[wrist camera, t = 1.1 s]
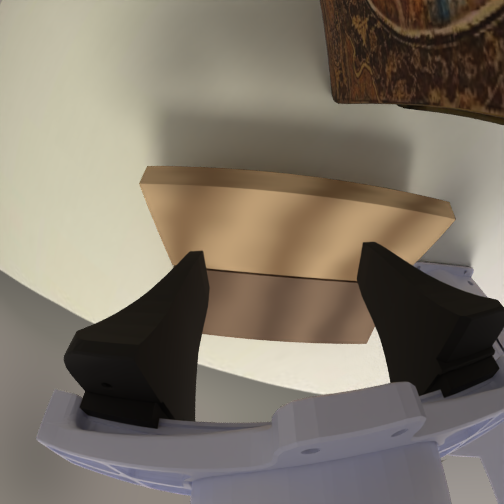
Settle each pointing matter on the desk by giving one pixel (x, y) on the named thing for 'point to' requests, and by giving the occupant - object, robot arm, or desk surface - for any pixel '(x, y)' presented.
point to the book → (418, 54)
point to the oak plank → (286, 220)
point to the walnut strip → (286, 308)
